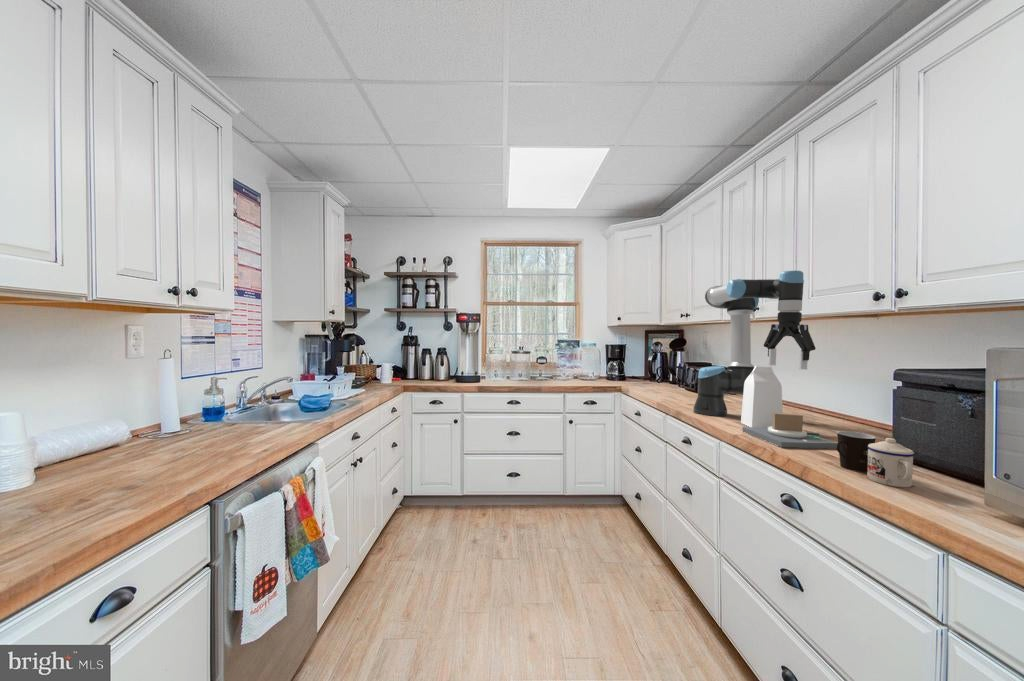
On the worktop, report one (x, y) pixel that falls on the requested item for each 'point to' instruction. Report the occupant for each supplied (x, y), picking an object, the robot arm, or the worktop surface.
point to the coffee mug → (854, 450)
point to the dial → (788, 426)
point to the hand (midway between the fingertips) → (786, 367)
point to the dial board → (790, 439)
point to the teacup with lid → (890, 463)
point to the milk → (761, 397)
